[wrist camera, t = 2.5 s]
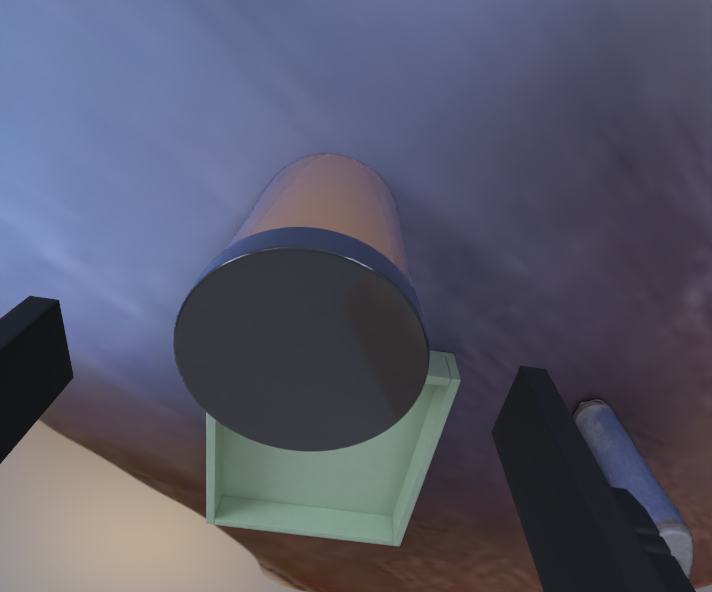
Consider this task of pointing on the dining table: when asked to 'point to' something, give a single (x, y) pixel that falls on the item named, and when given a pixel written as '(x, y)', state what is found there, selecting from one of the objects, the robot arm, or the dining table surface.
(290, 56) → the dining table surface
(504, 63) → the dining table surface
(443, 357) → the serving tray
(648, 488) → the flask
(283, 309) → the jar
